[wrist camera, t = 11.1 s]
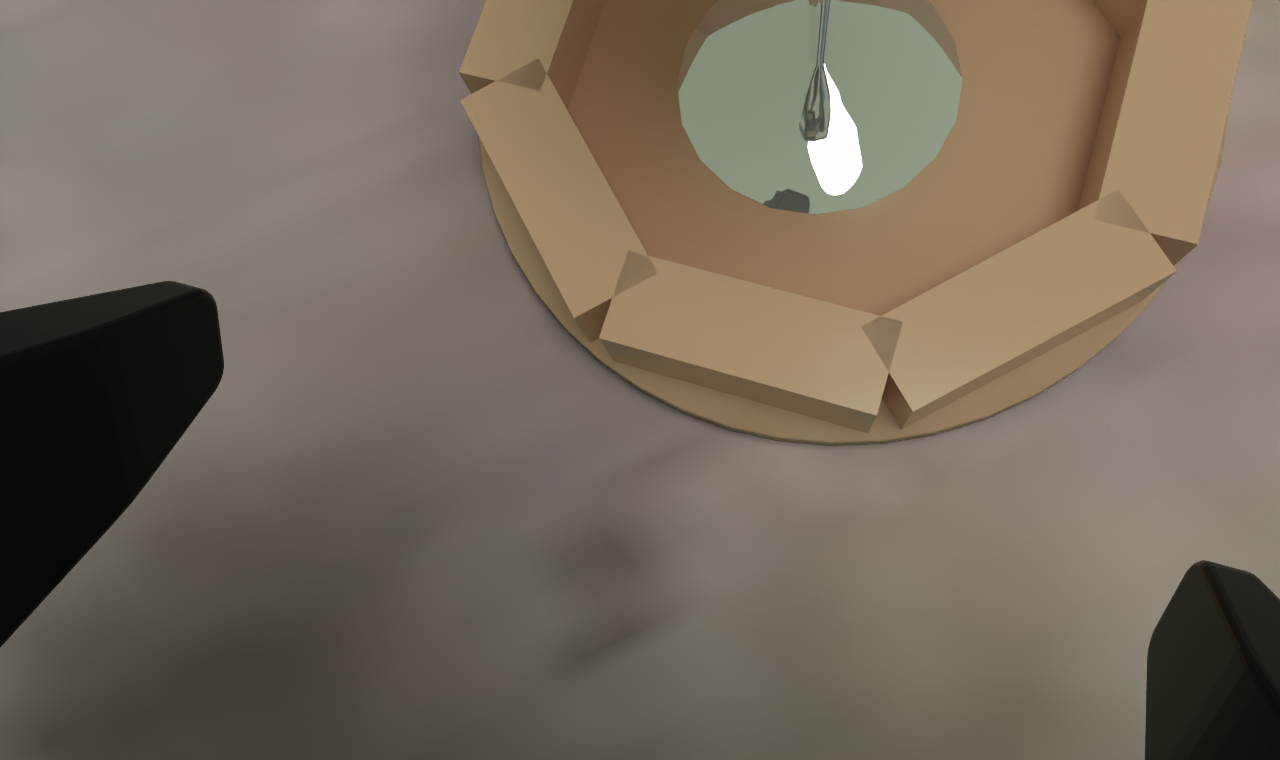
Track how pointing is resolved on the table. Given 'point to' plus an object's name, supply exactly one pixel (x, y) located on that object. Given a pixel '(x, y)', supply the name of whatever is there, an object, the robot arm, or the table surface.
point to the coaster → (857, 212)
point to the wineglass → (819, 98)
